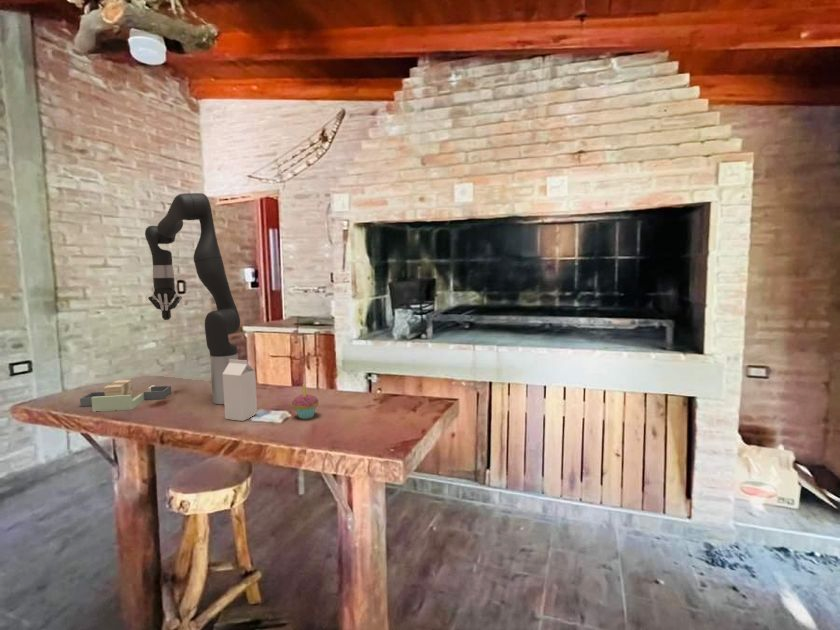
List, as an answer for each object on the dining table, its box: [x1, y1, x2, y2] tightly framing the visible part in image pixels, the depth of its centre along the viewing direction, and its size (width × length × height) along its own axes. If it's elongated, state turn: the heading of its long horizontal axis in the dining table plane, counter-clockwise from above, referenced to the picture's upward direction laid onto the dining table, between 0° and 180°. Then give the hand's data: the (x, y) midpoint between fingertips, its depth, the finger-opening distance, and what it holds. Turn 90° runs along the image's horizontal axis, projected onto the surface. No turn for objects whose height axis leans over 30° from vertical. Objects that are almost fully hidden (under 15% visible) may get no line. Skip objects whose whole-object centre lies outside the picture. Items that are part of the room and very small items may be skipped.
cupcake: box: [291, 383, 319, 420], centre depth 162 cm, size 9×8×12 cm
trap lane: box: [79, 384, 172, 413], centre depth 182 cm, size 23×26×5 cm
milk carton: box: [223, 359, 258, 422], centre depth 161 cm, size 7×7×19 cm
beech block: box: [103, 379, 134, 399], centre depth 177 cm, size 10×5×8 cm, turn 9°
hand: (166, 319), depth 201 cm, fingers closed
